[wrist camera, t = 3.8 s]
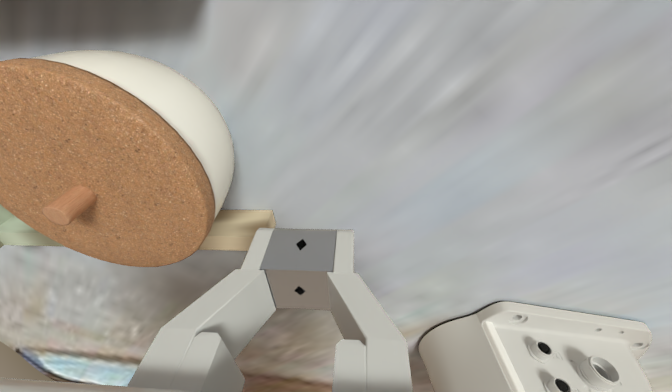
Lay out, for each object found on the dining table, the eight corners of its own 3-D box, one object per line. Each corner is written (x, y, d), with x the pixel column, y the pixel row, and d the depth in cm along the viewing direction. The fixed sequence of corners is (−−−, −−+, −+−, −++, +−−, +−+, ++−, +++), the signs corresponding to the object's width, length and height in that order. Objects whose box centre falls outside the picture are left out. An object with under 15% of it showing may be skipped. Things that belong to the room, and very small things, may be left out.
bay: (202, -68, 13) (148, -83, 10) (276, 224, 24) (262, 261, 21) (-220, -28, 15) (-372, -30, 12) (22, 220, 26) (-25, 253, 23)
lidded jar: (127, 179, 22) (8, 280, 15) (57, 19, 16) (-221, 57, 8) (263, 195, 22) (211, 306, 15) (249, 41, 16) (142, 99, 8)
